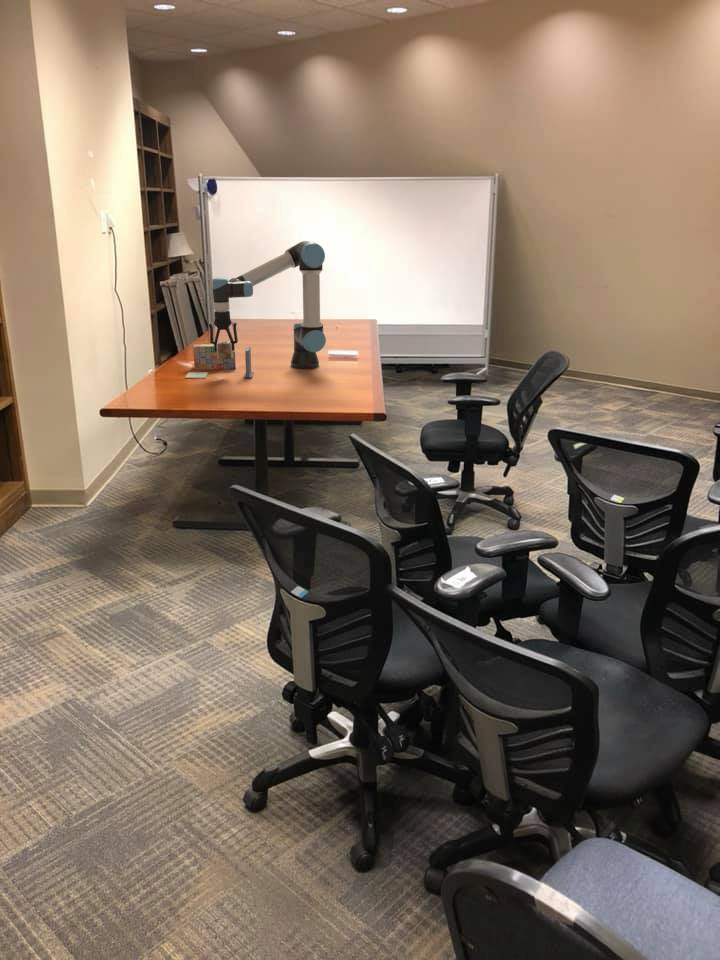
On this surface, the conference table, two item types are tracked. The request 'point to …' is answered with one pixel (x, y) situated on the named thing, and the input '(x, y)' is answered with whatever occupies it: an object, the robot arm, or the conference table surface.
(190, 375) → the pad
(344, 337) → the conference table surface
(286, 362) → the conference table surface
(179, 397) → the conference table surface
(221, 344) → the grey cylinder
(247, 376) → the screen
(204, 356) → the stack of blocks
